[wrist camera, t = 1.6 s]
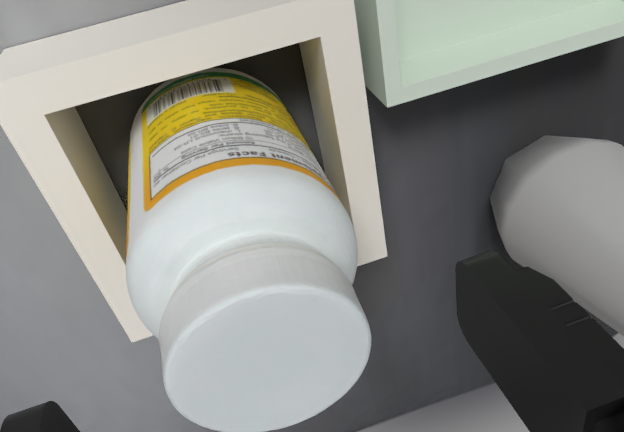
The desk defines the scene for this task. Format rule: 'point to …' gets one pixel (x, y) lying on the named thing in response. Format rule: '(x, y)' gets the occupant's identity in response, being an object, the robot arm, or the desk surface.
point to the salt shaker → (568, 218)
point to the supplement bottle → (240, 256)
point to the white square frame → (167, 65)
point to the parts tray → (470, 39)
